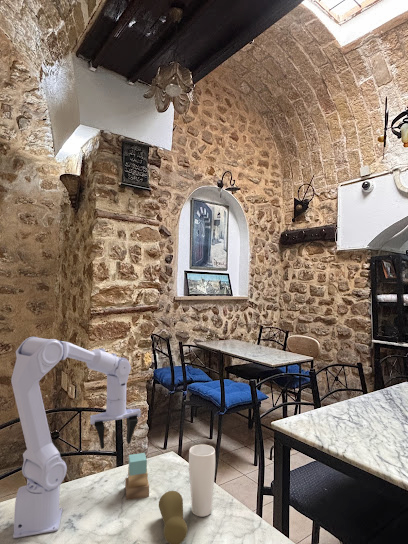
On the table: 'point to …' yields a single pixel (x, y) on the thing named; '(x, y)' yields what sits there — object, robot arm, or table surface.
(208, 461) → the drinking glass
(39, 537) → the table surface
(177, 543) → the olive rounded piece
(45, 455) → the robot arm
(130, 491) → the tower base
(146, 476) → the tower mid
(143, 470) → the teal block
